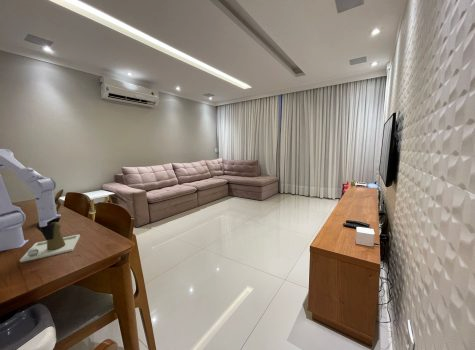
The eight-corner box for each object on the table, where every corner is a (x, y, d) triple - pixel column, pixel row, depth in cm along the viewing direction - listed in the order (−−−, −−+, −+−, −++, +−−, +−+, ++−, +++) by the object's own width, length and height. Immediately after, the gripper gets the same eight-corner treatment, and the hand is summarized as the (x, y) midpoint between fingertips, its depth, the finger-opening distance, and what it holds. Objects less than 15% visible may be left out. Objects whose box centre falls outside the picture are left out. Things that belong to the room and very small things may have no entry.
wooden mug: (70, 217, 127) (66, 189, 124) (41, 224, 115) (36, 194, 112) (65, 214, 131) (60, 188, 128) (36, 221, 120) (31, 193, 117)
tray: (20, 263, 76) (19, 260, 76) (36, 245, 90) (35, 242, 90) (73, 251, 84) (72, 248, 84) (80, 237, 98) (79, 234, 98)
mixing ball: (26, 259, 78) (25, 251, 78) (29, 255, 81) (28, 248, 81) (37, 257, 80) (36, 249, 79) (40, 253, 83) (39, 246, 82)
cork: (54, 251, 84) (49, 226, 82) (43, 249, 85) (38, 225, 84) (68, 243, 90) (64, 221, 88) (58, 242, 91) (54, 220, 89)
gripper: (53, 209, 80) (59, 241, 82) (63, 201, 92) (67, 228, 95) (29, 213, 77) (35, 245, 79) (42, 203, 89) (48, 232, 91)
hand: (51, 236), depth 86 cm, fingers closed on cork, 5 cm apart
